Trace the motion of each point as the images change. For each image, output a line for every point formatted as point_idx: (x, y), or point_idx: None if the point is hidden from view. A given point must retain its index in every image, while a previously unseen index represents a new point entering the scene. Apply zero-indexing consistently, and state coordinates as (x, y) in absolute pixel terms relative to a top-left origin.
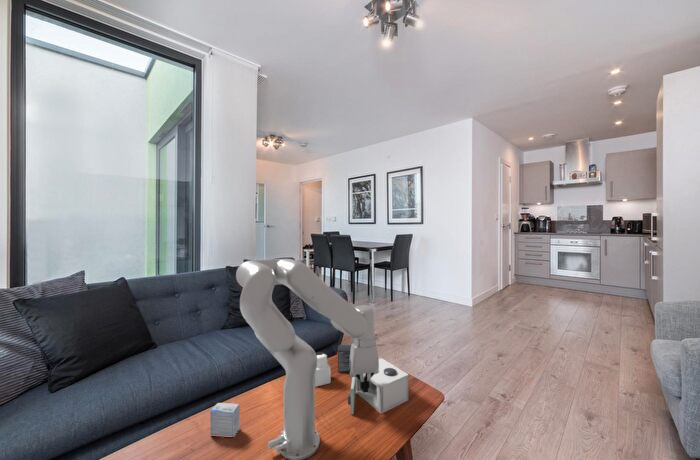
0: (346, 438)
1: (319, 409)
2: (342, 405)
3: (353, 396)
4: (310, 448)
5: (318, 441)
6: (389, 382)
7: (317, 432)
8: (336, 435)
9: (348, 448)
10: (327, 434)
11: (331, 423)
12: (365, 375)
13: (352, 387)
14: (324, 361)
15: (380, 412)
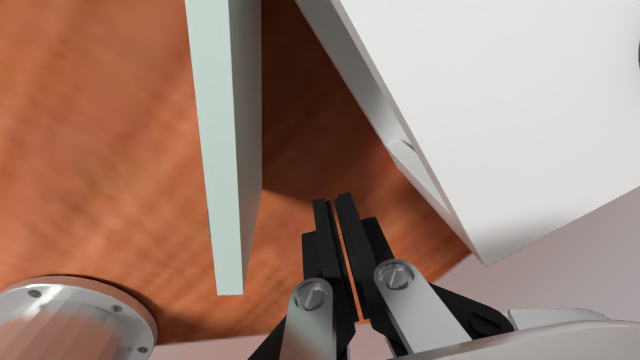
0: (247, 292)
1: (55, 150)
2: (186, 110)
3: (251, 247)
4: (132, 356)
5: (148, 336)
6: (584, 210)
7: (125, 308)
8: (207, 285)
9: (259, 320)
10: (170, 284)
11: (166, 236)
12: (380, 299)
13: (231, 281)
14: None
15: (397, 166)
